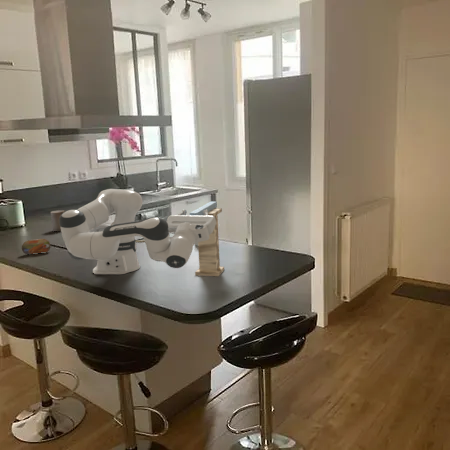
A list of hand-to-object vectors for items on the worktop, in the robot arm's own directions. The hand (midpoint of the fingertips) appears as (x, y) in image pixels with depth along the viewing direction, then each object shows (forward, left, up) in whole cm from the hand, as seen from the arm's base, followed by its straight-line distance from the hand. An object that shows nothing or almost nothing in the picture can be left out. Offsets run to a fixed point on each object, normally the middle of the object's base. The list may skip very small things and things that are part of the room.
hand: (195, 211), depth 193 cm
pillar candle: (-98, +133, -32) cm, 168 cm away
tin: (-92, +69, -32) cm, 120 cm away
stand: (+5, +15, -32) cm, 36 cm away
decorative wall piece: (-25, +89, -33) cm, 98 cm away
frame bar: (+4, +12, -3) cm, 12 cm away
